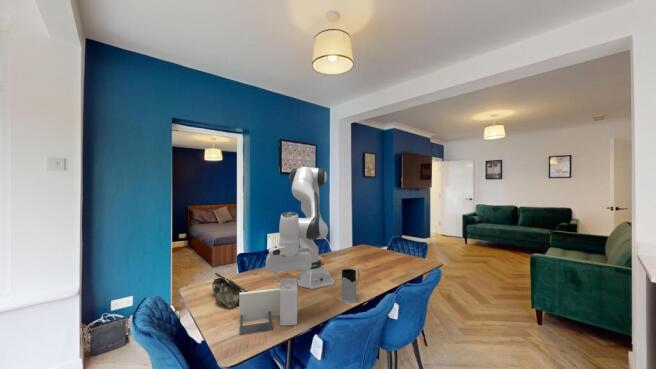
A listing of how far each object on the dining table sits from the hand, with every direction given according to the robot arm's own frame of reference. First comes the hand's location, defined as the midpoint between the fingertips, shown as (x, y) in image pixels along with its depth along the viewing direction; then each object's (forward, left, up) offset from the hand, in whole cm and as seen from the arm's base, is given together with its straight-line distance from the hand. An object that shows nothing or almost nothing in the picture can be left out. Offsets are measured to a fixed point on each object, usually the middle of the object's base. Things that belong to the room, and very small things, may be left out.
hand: (288, 280), depth 117 cm
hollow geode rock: (+27, -33, -19) cm, 47 cm away
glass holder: (-36, -15, -18) cm, 43 cm away
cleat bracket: (+14, -1, -18) cm, 23 cm away
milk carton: (0, 0, -18) cm, 18 cm away
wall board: (+8, -7, -18) cm, 21 cm away
